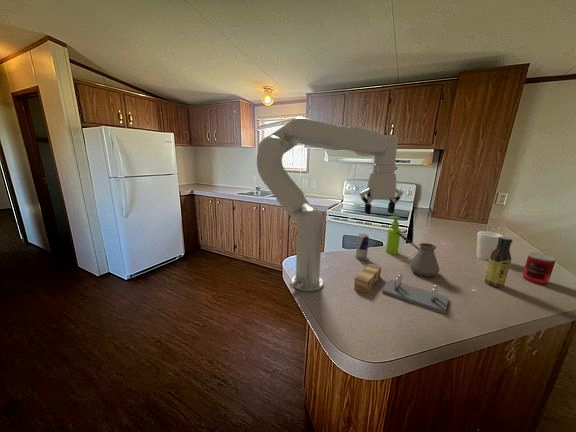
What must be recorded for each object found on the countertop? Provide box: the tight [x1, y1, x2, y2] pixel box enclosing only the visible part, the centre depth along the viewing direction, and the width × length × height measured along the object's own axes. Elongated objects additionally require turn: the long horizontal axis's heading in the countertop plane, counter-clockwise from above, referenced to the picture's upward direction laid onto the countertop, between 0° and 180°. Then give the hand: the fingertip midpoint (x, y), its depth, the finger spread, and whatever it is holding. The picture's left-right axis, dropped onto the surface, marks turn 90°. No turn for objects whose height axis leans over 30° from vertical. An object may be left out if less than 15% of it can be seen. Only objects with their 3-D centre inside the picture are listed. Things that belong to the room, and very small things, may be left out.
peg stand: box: [382, 273, 449, 315], centre depth 85 cm, size 10×20×6 cm, turn 52°
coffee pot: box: [395, 232, 440, 278], centre depth 106 cm, size 21×12×15 cm, turn 31°
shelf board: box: [353, 263, 382, 294], centre depth 95 cm, size 16×5×5 cm, turn 142°
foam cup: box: [476, 230, 504, 261], centre depth 118 cm, size 10×9×13 cm
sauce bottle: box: [484, 236, 513, 288], centre depth 93 cm, size 6×6×20 cm
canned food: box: [522, 252, 556, 286], centre depth 97 cm, size 8×8×11 cm
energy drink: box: [355, 233, 370, 261], centre depth 117 cm, size 5×5×12 cm
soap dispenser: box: [385, 215, 402, 255], centre depth 123 cm, size 6×7×20 cm
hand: (379, 213), depth 93 cm, fingers open, 9 cm apart
